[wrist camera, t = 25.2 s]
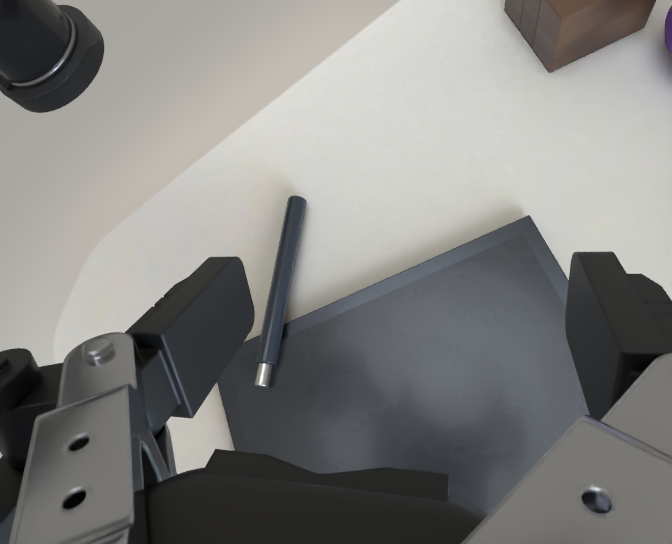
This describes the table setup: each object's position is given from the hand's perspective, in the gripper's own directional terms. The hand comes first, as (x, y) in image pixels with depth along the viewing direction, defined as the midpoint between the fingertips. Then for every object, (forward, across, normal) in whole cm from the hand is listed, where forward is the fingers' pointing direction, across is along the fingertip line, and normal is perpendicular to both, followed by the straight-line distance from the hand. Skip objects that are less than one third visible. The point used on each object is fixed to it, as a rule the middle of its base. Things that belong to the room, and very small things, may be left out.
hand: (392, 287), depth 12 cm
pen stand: (+33, -9, -4) cm, 34 cm away
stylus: (+12, +11, +14) cm, 22 cm away
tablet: (+13, +2, +16) cm, 20 cm away
